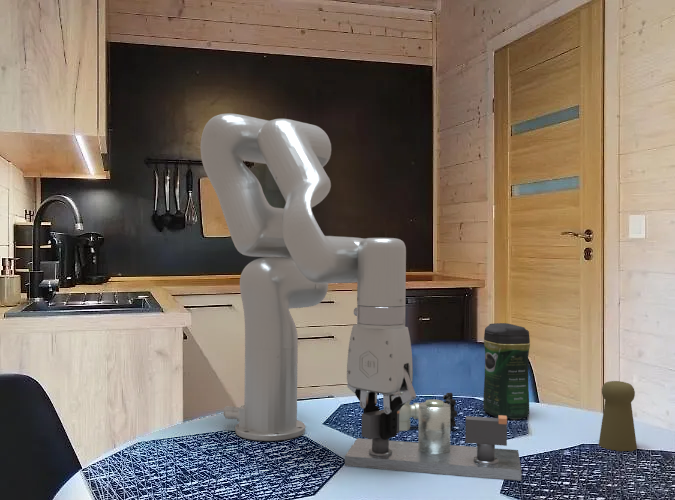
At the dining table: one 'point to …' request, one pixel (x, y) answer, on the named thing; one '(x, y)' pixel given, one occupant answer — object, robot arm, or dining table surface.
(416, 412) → the valve
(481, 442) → the knob
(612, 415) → the cork
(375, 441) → the knob
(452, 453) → the plate
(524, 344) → the coffee jar
